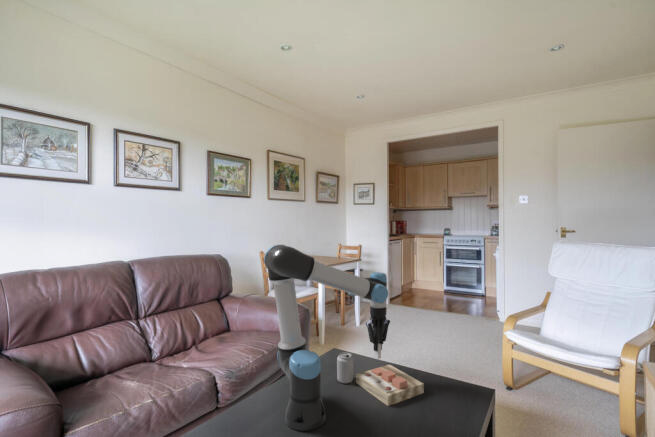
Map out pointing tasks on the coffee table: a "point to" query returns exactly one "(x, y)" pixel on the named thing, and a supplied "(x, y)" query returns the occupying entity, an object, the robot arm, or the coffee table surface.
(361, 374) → the board
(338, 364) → the can
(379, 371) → the button
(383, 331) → the robot arm
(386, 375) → the button
